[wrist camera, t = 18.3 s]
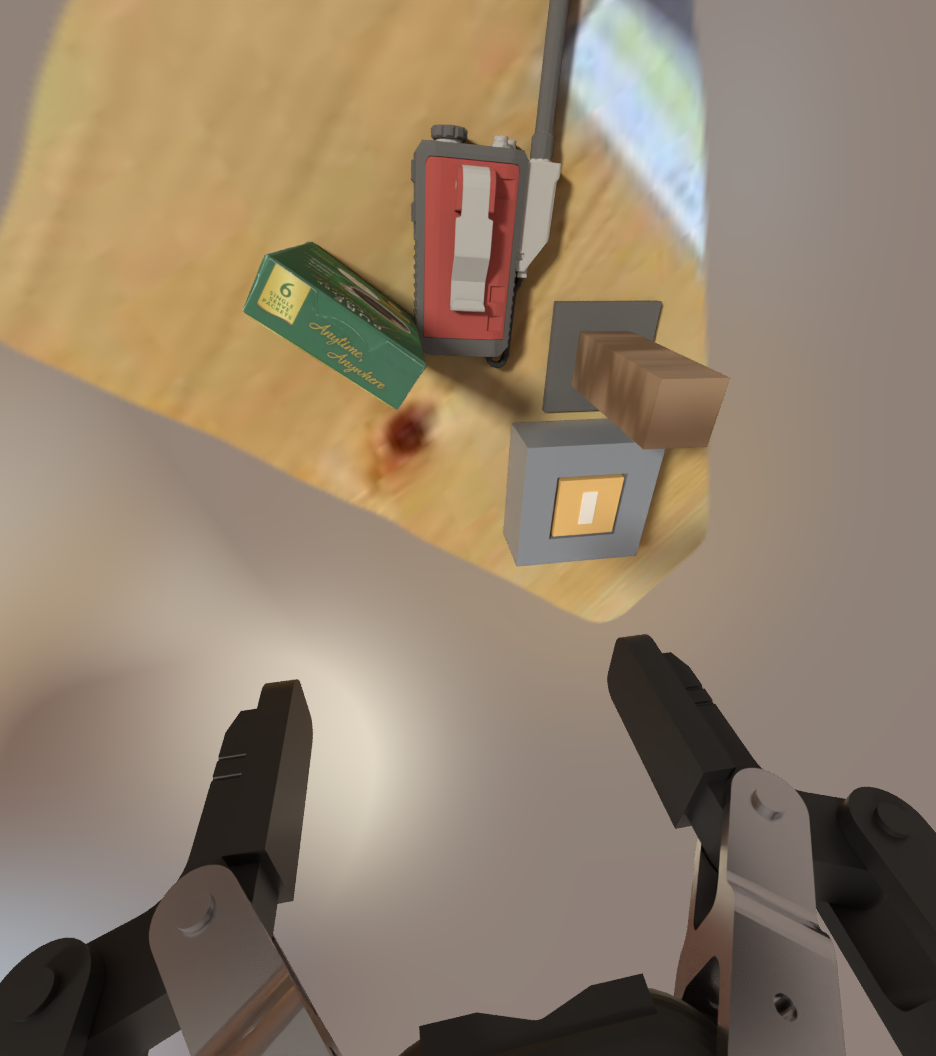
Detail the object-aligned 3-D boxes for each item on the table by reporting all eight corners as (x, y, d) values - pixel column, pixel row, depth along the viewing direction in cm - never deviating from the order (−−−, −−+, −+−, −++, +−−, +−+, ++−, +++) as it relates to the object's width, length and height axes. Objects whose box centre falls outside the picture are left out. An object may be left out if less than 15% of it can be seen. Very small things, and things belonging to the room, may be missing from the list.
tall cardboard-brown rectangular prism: (579, 331, 34) (661, 379, 24) (630, 331, 35) (730, 377, 25) (571, 385, 37) (643, 449, 27) (619, 384, 37) (706, 446, 27)
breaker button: (545, 458, 39) (561, 482, 36) (604, 455, 40) (624, 477, 37) (539, 511, 42) (553, 537, 39) (593, 507, 43) (612, 532, 40)
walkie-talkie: (525, 363, 36) (575, -22, 25) (541, 380, 32) (608, -61, 21) (410, 360, 34) (409, -50, 23) (414, 377, 31) (415, -97, 20)
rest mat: (554, 301, 33) (556, 302, 33) (657, 300, 35) (661, 301, 34) (542, 409, 38) (544, 412, 37) (634, 405, 39) (637, 408, 39)
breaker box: (511, 422, 38) (527, 448, 34) (637, 417, 40) (667, 440, 36) (503, 533, 44) (516, 566, 40) (612, 525, 46) (636, 555, 42)
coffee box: (285, 277, 30) (235, 313, 19) (306, 235, 29) (265, 248, 18) (393, 352, 34) (400, 418, 23) (415, 317, 33) (434, 368, 22)
